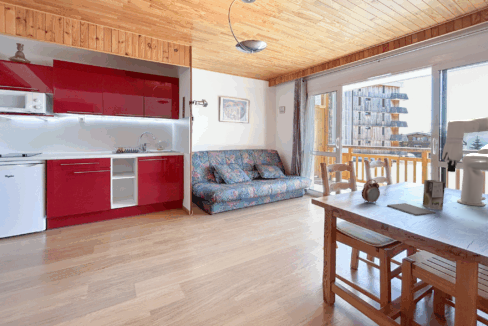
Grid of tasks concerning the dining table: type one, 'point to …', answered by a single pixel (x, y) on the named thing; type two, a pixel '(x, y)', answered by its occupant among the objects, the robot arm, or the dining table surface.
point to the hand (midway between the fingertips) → (451, 171)
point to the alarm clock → (371, 192)
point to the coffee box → (433, 194)
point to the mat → (411, 209)
